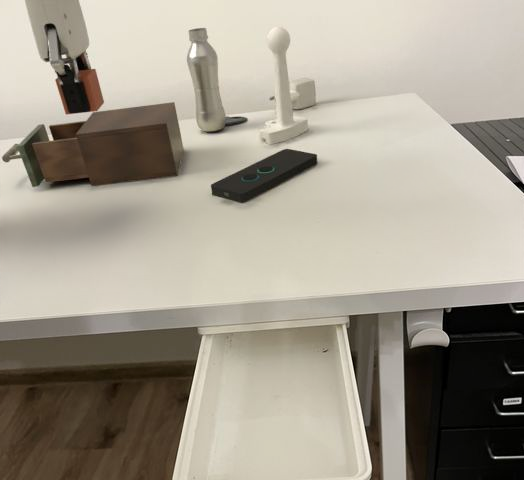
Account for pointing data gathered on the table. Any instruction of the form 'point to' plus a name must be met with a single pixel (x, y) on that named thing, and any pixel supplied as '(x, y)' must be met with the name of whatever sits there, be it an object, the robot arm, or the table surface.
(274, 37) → the joystick
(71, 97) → the robot arm
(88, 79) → the block
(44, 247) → the table surface
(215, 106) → the metal water bottle
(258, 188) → the smart home device
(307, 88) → the power adapter
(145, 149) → the cabinet
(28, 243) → the table surface
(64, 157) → the drawer
